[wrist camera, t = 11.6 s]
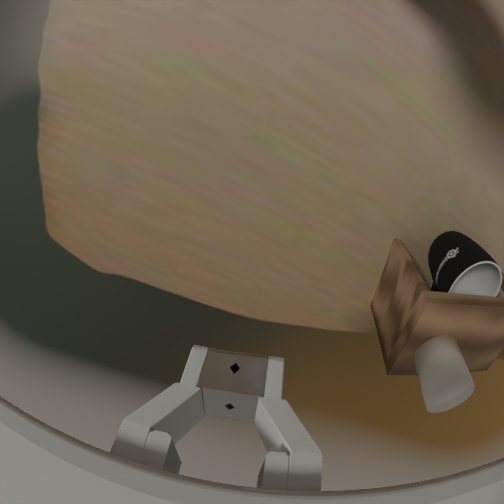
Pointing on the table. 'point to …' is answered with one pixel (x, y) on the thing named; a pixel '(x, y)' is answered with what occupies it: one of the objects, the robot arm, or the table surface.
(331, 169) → the table surface
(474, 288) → the mug
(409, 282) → the open wooden crate
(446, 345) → the white cylinder
